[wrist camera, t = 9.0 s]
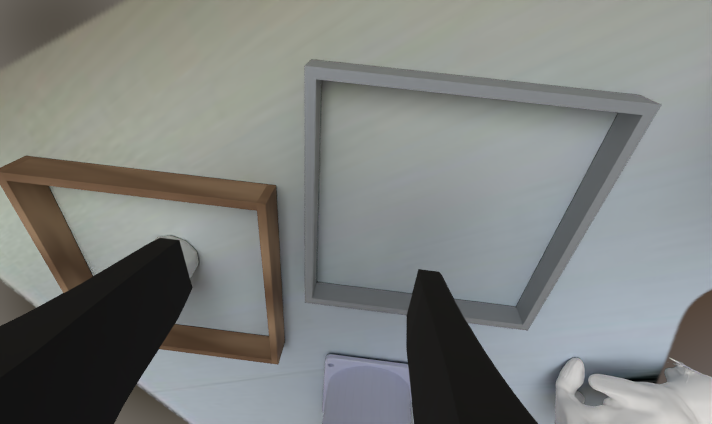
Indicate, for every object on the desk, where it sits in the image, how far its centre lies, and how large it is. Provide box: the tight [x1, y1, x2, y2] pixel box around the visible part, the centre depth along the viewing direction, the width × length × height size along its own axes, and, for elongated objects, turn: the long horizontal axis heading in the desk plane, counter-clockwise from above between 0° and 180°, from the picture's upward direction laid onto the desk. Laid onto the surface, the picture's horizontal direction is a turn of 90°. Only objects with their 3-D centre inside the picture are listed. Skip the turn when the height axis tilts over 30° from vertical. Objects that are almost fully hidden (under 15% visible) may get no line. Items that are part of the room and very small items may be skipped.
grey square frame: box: [305, 59, 661, 330], centre depth 19 cm, size 15×15×2 cm
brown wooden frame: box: [0, 156, 285, 364], centre depth 23 cm, size 15×15×2 cm
